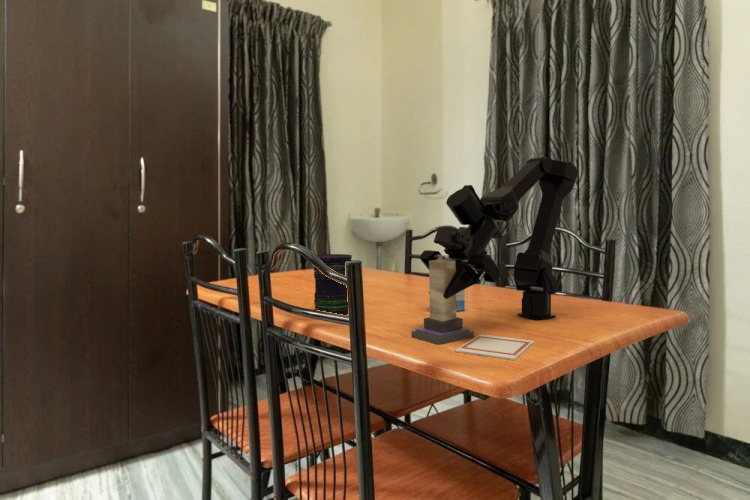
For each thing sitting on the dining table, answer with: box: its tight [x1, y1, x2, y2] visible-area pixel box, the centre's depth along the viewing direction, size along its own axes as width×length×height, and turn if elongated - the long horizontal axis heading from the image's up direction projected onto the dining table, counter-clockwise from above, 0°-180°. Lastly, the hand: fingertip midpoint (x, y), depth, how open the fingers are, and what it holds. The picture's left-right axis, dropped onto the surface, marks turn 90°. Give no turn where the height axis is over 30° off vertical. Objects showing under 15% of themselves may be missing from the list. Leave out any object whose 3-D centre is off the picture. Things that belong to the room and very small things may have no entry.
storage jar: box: [313, 253, 353, 315], centre depth 129 cm, size 10×10×15 cm
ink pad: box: [411, 326, 475, 346], centre depth 104 cm, size 10×8×2 cm
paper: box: [454, 334, 535, 361], centre depth 96 cm, size 14×11×1 cm
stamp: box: [423, 259, 464, 333], centre depth 104 cm, size 6×6×14 cm
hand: (437, 296), depth 103 cm, fingers closed on stamp, 4 cm apart
